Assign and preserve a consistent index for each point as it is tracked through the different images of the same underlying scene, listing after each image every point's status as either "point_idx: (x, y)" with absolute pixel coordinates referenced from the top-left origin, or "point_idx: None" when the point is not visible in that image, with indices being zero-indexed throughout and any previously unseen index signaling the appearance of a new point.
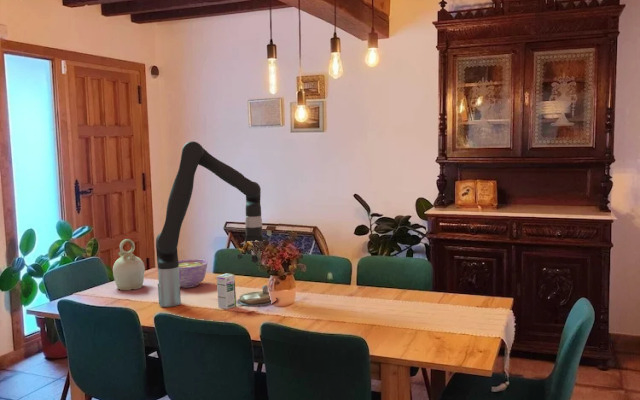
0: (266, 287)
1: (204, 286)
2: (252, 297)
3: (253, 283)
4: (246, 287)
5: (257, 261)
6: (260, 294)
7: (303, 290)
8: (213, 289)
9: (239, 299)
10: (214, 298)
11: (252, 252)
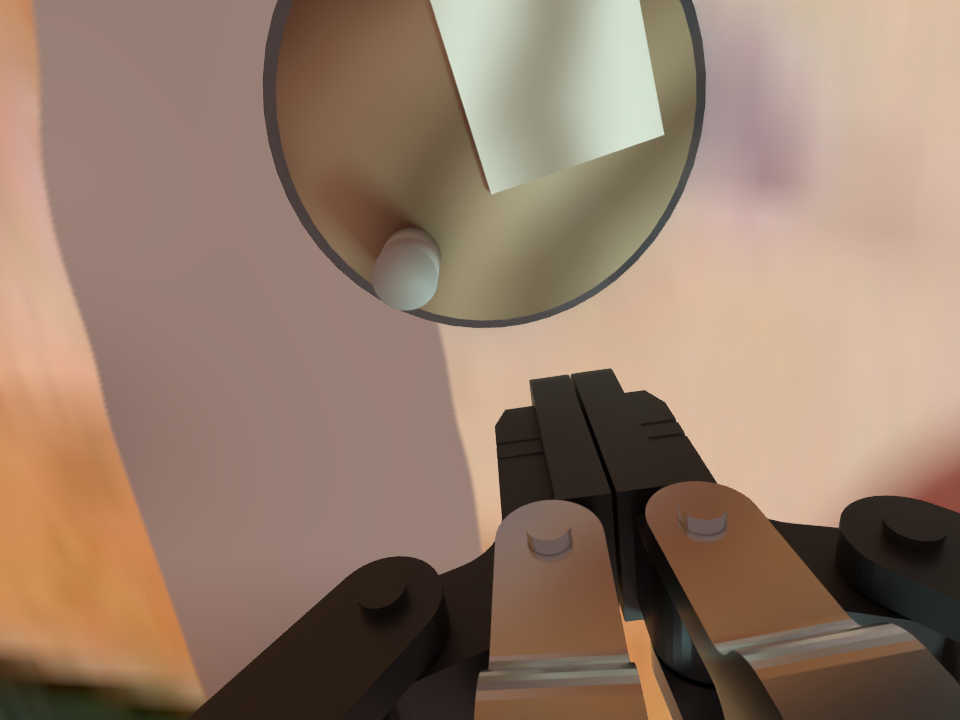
0: (384, 250)
1: None
2: (538, 26)
3: None
4: None
5: (507, 411)
6: (458, 197)
7: (97, 457)
8: None
9: None
10: (926, 261)
11: (746, 563)
